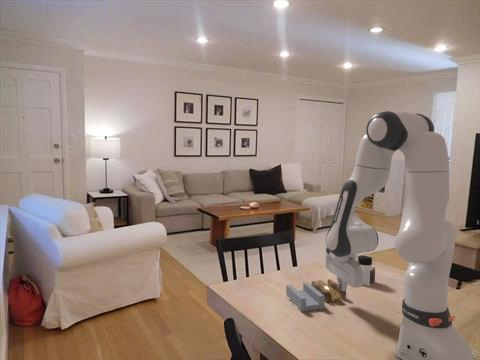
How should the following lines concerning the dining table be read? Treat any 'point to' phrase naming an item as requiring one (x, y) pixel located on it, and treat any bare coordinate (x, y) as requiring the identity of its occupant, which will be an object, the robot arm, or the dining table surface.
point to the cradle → (306, 297)
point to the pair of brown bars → (326, 293)
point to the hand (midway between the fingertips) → (342, 289)
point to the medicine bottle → (367, 269)
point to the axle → (330, 291)
